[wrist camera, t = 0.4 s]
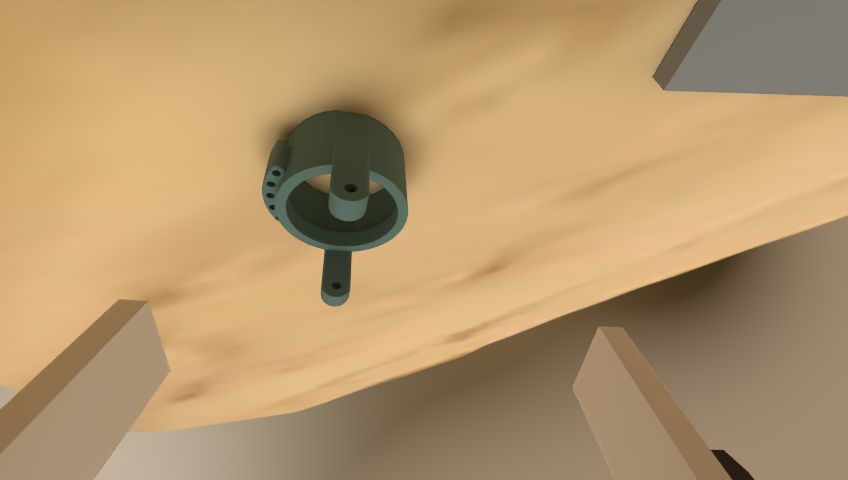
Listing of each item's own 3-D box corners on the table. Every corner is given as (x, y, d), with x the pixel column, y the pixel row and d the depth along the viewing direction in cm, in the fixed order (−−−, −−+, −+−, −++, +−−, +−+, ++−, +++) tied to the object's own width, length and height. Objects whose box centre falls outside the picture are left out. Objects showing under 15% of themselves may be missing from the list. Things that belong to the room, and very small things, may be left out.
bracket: (360, 82, 22) (355, 188, 17) (425, 180, 29) (436, 279, 24) (247, 140, 25) (210, 248, 20) (330, 218, 32) (320, 314, 27)
